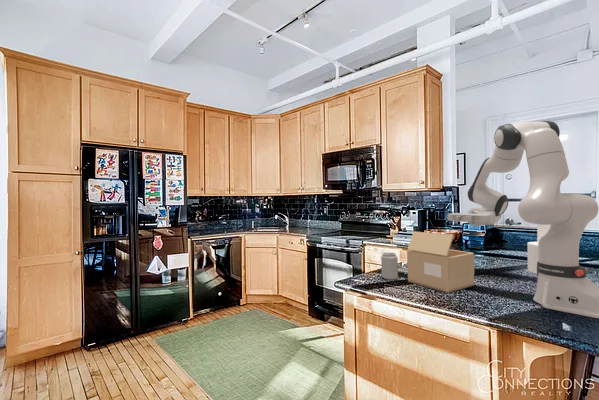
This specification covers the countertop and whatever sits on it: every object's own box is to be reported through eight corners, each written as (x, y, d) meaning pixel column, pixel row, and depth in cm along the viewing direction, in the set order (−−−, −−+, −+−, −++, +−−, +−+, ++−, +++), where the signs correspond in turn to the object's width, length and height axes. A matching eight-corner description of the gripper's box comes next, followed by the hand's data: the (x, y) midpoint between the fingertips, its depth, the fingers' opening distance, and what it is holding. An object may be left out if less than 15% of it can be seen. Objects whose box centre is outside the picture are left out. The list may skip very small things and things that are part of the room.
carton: (476, 285, 134) (475, 253, 134) (449, 293, 124) (448, 258, 124) (432, 275, 152) (432, 246, 152) (406, 281, 143) (405, 250, 142)
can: (394, 281, 144) (394, 255, 144) (379, 278, 148) (378, 253, 148) (400, 277, 150) (399, 252, 150) (385, 275, 154) (384, 251, 154)
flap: (453, 235, 128) (452, 235, 127) (447, 256, 125) (446, 255, 125) (414, 231, 144) (413, 231, 144) (408, 249, 142) (407, 249, 142)
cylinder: (555, 268, 162) (554, 214, 162) (582, 276, 145) (581, 216, 145) (520, 267, 164) (519, 214, 164) (542, 276, 147) (541, 216, 146)
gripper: (456, 210, 162) (440, 211, 155) (498, 211, 145) (482, 212, 138) (456, 222, 162) (440, 223, 155) (498, 224, 145) (482, 226, 138)
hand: (460, 218), depth 146 cm, fingers closed
